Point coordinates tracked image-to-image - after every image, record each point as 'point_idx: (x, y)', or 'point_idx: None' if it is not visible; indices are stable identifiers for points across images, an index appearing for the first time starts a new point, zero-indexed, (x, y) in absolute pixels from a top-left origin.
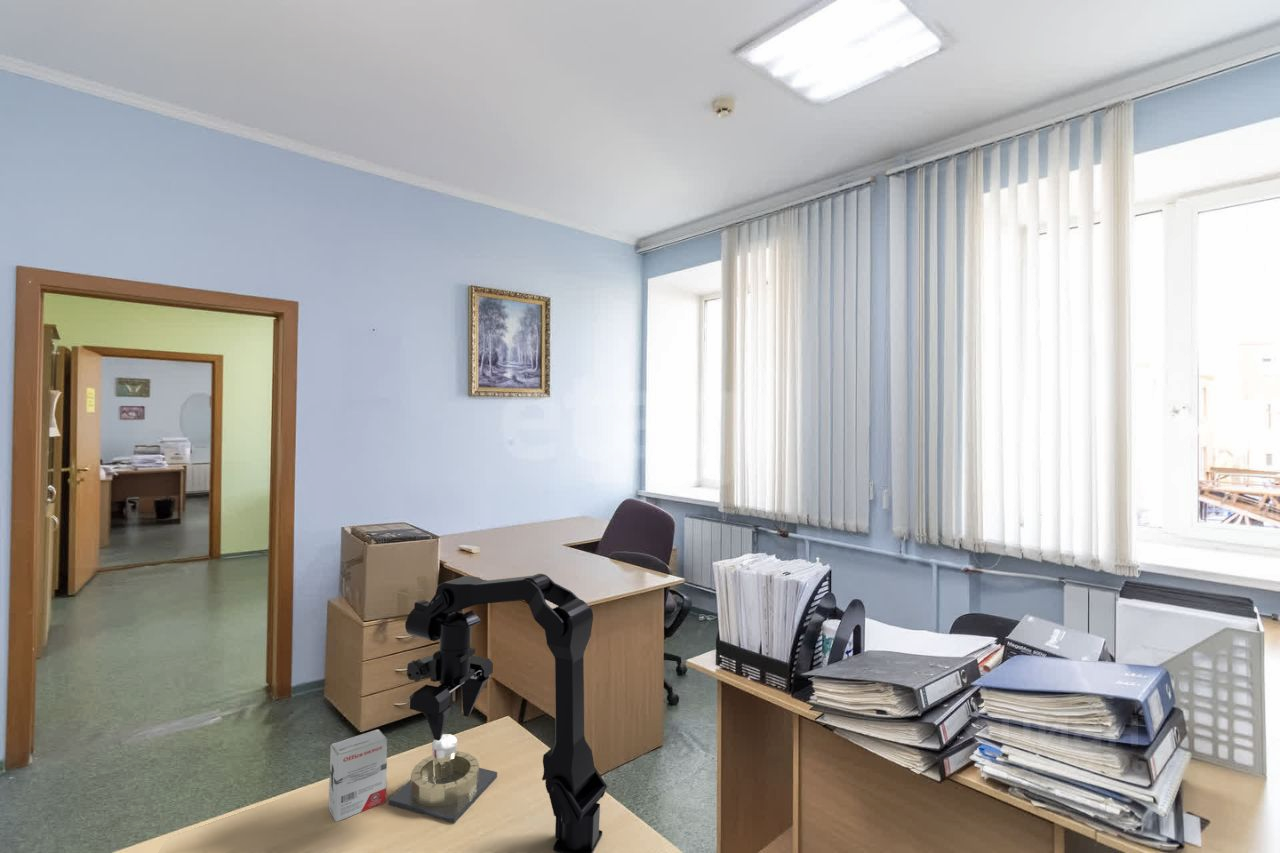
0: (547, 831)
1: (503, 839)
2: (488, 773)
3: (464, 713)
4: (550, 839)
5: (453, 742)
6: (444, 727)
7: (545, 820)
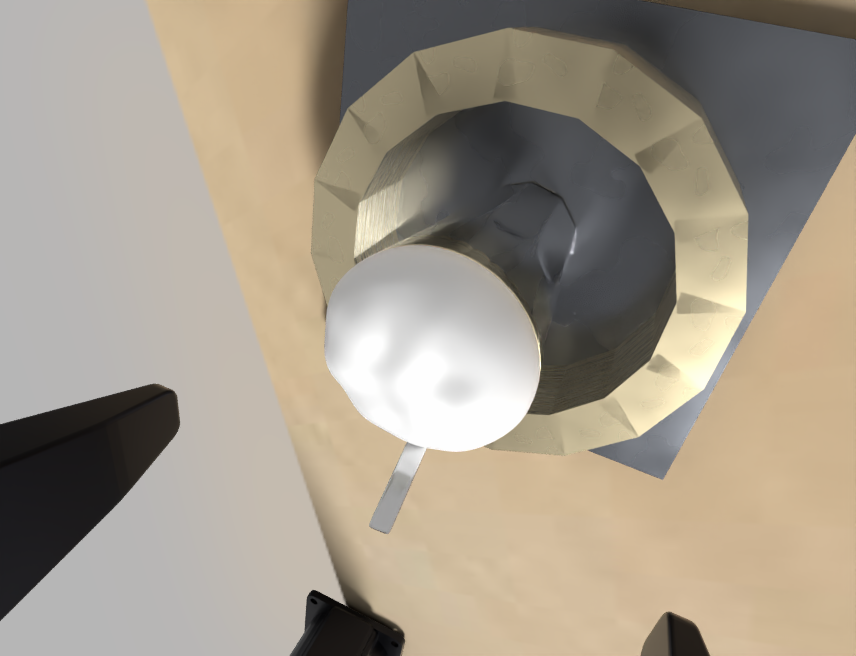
0: (374, 587)
1: (316, 485)
2: (649, 441)
3: (664, 643)
4: (349, 588)
5: (400, 438)
6: (57, 556)
7: (416, 589)
